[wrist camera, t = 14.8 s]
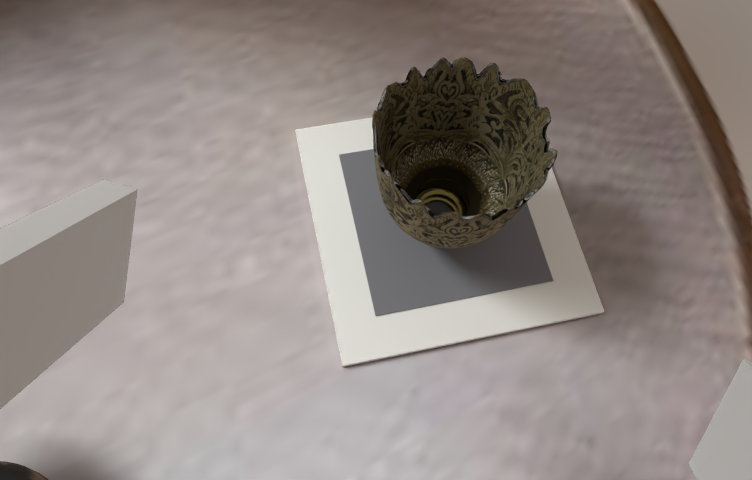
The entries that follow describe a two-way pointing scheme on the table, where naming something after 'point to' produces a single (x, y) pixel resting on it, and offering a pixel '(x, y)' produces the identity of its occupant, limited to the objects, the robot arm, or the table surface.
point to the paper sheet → (432, 260)
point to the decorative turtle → (18, 472)
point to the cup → (459, 151)
